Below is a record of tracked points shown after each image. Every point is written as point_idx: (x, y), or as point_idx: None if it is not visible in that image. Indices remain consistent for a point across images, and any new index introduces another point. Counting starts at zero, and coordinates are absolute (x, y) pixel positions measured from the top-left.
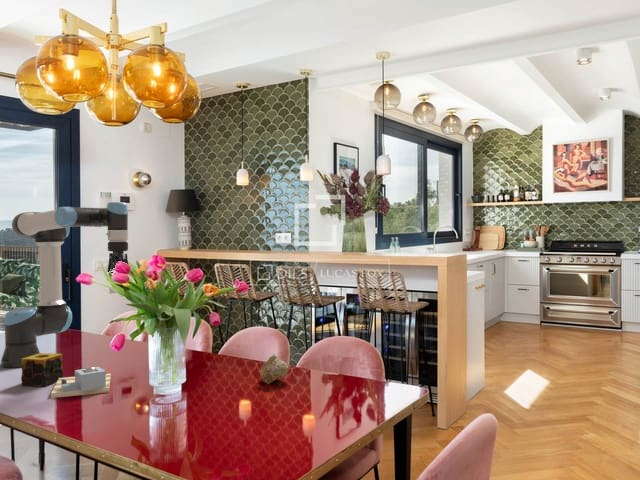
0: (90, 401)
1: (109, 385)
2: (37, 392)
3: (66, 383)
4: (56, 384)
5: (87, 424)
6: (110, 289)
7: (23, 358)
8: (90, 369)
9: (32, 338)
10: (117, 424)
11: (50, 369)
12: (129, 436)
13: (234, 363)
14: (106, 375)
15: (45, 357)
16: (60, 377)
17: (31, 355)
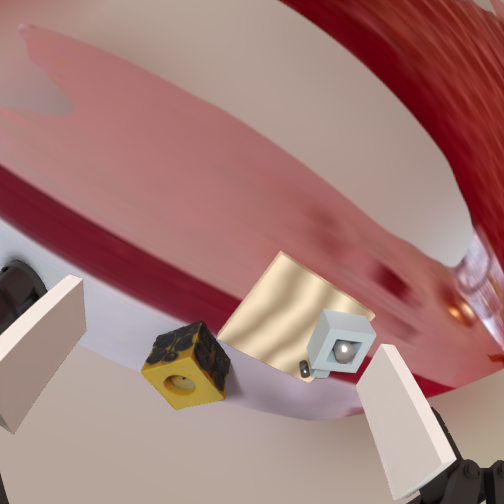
0: None
1: (345, 294)
2: (254, 377)
3: (307, 367)
4: (262, 360)
5: (437, 376)
6: (69, 347)
7: (175, 407)
8: (353, 358)
9: (7, 311)
10: (464, 356)
11: (213, 365)
12: (485, 358)
13: (412, 8)
14: (289, 271)
15: (200, 388)
16: (203, 328)
17: (30, 297)
